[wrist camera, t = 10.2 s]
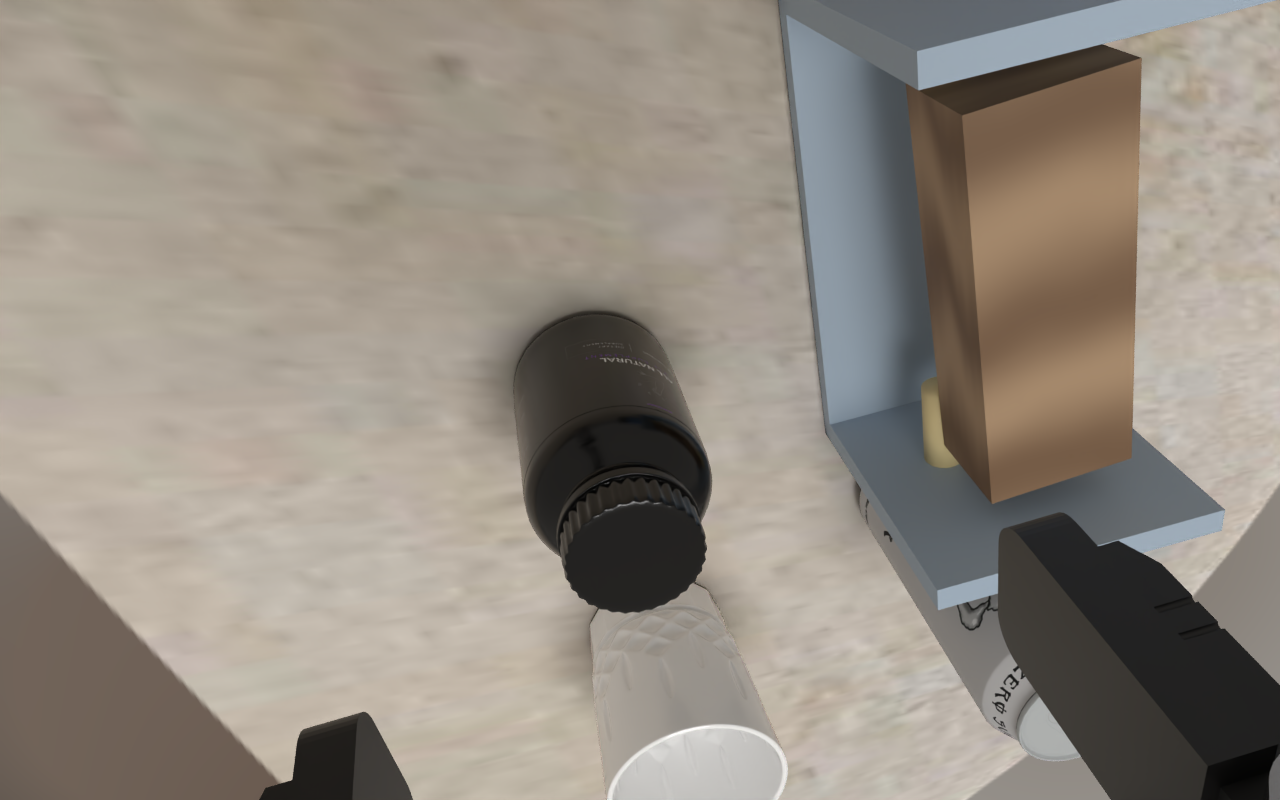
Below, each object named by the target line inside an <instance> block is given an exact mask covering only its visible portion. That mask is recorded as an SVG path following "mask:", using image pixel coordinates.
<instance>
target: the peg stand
mask: <svg viewBox="0 0 1280 800" xmlns="http://www.w3.org/2000/svg"><path fill="white" fill-rule="evenodd" d="M1271 1H1275V0H778V2H779V11H780V20H781V29H782V38H783V47H784V57H785V66H786V75H787V84H788V93H789V102H790V111H791V121H792V130H793V139H794V148H795V157H796V166H797V175H798V184H799V194H800V203H801V212H802V221H803V230H804V239H805V248H806V258H807V267H808V276H809V285H810V294H811V303H812V312H813V322H814V331H815V340H816V349H817V358H818V367H819V376H820V385H821V395H822V404H823V413H824V422H825V431H826V434H827V436H828V437H829V439H830V441H831V442H832V444H833V445H834V447H835V449H836V450H837V452H838V453H839V455H840V456H841V458H842V460H843V461H844V463H845V464H846V466H847V467H848V469H849V471H850V472H851V474H852V475H853V477H854V478H855V480H856V482H857V483H858V485H859V486H860V488H861V490H862V491H863V493H864V494H865V496H866V497H867V499H868V501H869V502H870V504H871V505H872V507H873V508H874V510H875V512H876V513H877V515H878V516H879V518H880V520H881V521H882V523H883V524H884V526H885V527H886V529H887V531H888V532H889V534H890V535H891V537H892V538H893V540H894V542H895V543H896V545H897V546H898V548H899V549H900V551H901V553H902V554H903V556H904V557H905V559H906V561H907V562H908V564H909V565H910V567H911V568H912V570H913V572H914V573H915V575H916V576H917V578H918V579H919V581H920V583H921V584H922V586H923V587H924V589H925V590H926V592H927V594H928V595H929V597H930V598H931V600H932V602H933V603H934V605H935V606H936V608H937V609H938V610H941V609H944V608H948V607H952V606H955V605H959V604H962V603H966V602H969V601H973V600H976V599H980V598H984V597H987V596H991V595H994V594H998V543H999V535H1000V532H1001V530H1002V529H1003V528H1006V527H1010V526H1013V525H1017V524H1020V523H1024V522H1027V521H1030V520H1034V519H1037V518H1041V517H1044V516H1048V515H1051V514H1055V513H1058V512H1062V513H1065V514H1067V515H1069V516H1070V517H1071V518H1072V519H1073V520H1074V521H1075V522H1076V523H1077V524H1078V525H1079V526H1080V527H1081V528H1082V529H1083V530H1084V531H1085V532H1086V534H1087V535H1088V536H1089V537H1090V538H1091V539H1092V540H1093V541H1094V542H1095V543H1096V545H1097V546H1101V545H1104V544H1108V543H1111V542H1115V541H1120V542H1122V543H1124V544H1126V545H1128V546H1129V547H1131V548H1133V549H1135V550H1137V551H1139V552H1141V553H1143V552H1147V551H1151V550H1154V549H1158V548H1161V547H1165V546H1168V545H1172V544H1175V543H1179V542H1183V541H1186V540H1190V539H1193V538H1197V537H1200V536H1204V535H1207V534H1211V533H1215V532H1218V531H1222V525H1223V519H1224V513H1225V509H1224V508H1222V507H1221V506H1220V505H1219V504H1218V503H1217V502H1216V501H1214V500H1213V499H1212V498H1211V497H1210V496H1209V495H1208V494H1207V493H1205V492H1204V491H1203V490H1202V489H1201V488H1200V487H1199V486H1197V485H1196V484H1195V483H1194V482H1193V481H1192V480H1191V479H1189V478H1188V477H1187V476H1186V475H1185V474H1184V473H1183V472H1182V471H1180V470H1179V469H1178V468H1177V467H1176V466H1175V465H1174V464H1172V463H1171V462H1170V461H1169V460H1168V459H1167V458H1166V457H1164V456H1163V455H1162V454H1161V453H1160V452H1159V451H1158V450H1157V449H1155V448H1154V447H1153V446H1152V445H1151V444H1150V443H1149V442H1147V441H1146V440H1145V439H1144V438H1143V437H1142V436H1141V435H1139V434H1138V433H1137V432H1136V431H1135V430H1134V429H1133V428H1132V458H1131V459H1128V460H1125V461H1122V462H1119V463H1116V464H1113V465H1110V466H1107V467H1103V468H1100V469H1097V470H1094V471H1091V472H1088V473H1085V474H1082V475H1079V476H1076V477H1073V478H1070V479H1067V480H1064V481H1061V482H1058V483H1055V484H1052V485H1049V486H1046V487H1042V488H1039V489H1036V490H1033V491H1030V492H1027V493H1024V494H1021V495H1018V496H1015V497H1012V498H1009V499H1006V500H1003V501H1000V502H997V503H994V504H991V502H990V501H989V500H988V499H987V497H986V496H985V495H984V494H983V492H982V491H981V490H980V489H979V487H978V486H977V485H976V484H975V483H974V481H973V480H972V479H971V478H970V476H969V475H968V474H967V473H966V471H965V470H964V469H963V468H962V466H961V465H960V464H959V463H958V462H957V460H956V459H955V458H954V457H953V455H952V454H951V453H950V452H949V450H948V449H947V448H946V447H945V445H944V438H943V428H942V419H941V410H940V400H939V391H938V382H937V372H936V363H935V354H934V344H933V335H932V326H931V316H930V307H929V298H928V288H927V279H926V270H925V260H924V251H923V242H922V232H921V223H920V214H919V204H918V195H917V186H916V177H915V167H914V158H913V149H912V139H911V130H910V121H909V111H908V102H907V93H906V84H908V85H910V86H912V87H913V88H915V89H917V90H922V89H926V88H930V87H934V86H938V85H942V84H946V83H950V82H954V81H958V80H962V79H966V78H970V77H974V76H978V75H982V74H986V73H990V72H994V71H998V70H1002V69H1006V68H1009V67H1013V66H1017V65H1021V64H1025V63H1029V62H1033V61H1037V60H1041V59H1045V58H1049V57H1053V56H1057V55H1061V54H1065V53H1069V52H1073V51H1077V50H1081V49H1085V48H1089V47H1093V46H1097V45H1101V44H1105V43H1109V42H1113V41H1117V40H1120V39H1124V38H1128V37H1132V36H1136V35H1140V34H1144V33H1148V32H1152V31H1156V30H1160V29H1164V28H1168V27H1172V26H1176V25H1180V24H1184V23H1188V22H1192V21H1196V20H1200V19H1204V18H1208V17H1212V16H1216V15H1220V14H1224V13H1228V12H1231V11H1235V10H1239V9H1243V8H1247V7H1251V6H1255V5H1259V4H1263V3H1267V2H1271Z"/></svg>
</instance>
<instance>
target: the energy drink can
mask: <svg viewBox="0 0 1280 800" xmlns="http://www.w3.org/2000/svg"><path fill="white" fill-rule="evenodd" d="M860 510H861V514H862V517H863V518H864V520H865V522H866V524H867V525H868V527H869V529H870V530H871V532H872V534H873V535H874V537H875V539H876V540H877V542H878V543H879V545H880V547H881V548H882V550H883V552H884V553H885V555H886V557H887V558H888V560H889V561H890V563H891V565H892V566H893V568H894V570H895V571H896V573H897V575H898V576H899V578H900V580H901V581H902V583H903V584H904V586H905V588H906V589H907V591H908V593H909V594H910V596H911V598H912V599H913V601H914V602H915V604H916V606H917V607H918V609H919V611H920V612H921V614H922V616H923V617H924V619H925V621H926V622H927V624H928V625H929V627H930V629H931V630H932V632H933V634H934V635H935V637H936V639H937V640H938V642H939V644H940V645H941V647H942V648H943V650H944V652H945V653H946V655H947V657H948V658H949V660H950V662H951V663H952V665H953V666H954V668H955V670H956V671H957V673H958V675H959V676H960V678H961V680H962V681H963V683H964V685H965V686H966V688H967V689H968V691H969V693H970V694H971V696H972V698H973V699H974V701H975V703H976V704H977V706H978V707H979V709H980V711H981V712H982V714H983V716H984V717H985V719H986V721H987V722H988V723H989V724H990V725H991V726H993V727H994V728H995V729H997V730H998V731H1000V732H1002V733H1004V734H1006V735H1008V736H1010V737H1012V738H1014V739H1016V740H1018V741H1019V742H1020V744H1021V746H1022V748H1023V749H1024V750H1025V751H1026V752H1027V753H1028V754H1029V755H1032V756H1033V757H1035V758H1038V759H1041V760H1045V761H1064V760H1071V759H1075V758H1079V757H1081V756H1080V754H1079V753H1078V752H1077V750H1076V749H1075V747H1074V746H1073V744H1072V743H1071V741H1070V740H1069V739H1068V737H1067V736H1066V734H1065V733H1064V731H1063V730H1062V729H1061V727H1060V726H1059V724H1058V723H1057V721H1056V720H1055V718H1054V717H1053V716H1052V714H1051V713H1050V711H1049V710H1048V708H1047V707H1046V705H1045V704H1044V703H1043V701H1042V700H1041V698H1040V697H1039V695H1038V694H1037V693H1036V691H1035V690H1034V688H1033V687H1032V685H1031V684H1030V682H1029V681H1028V680H1027V678H1026V677H1025V675H1024V674H1023V672H1022V671H1021V670H1020V668H1019V667H1018V665H1017V664H1016V662H1015V661H1014V659H1013V657H1012V655H1011V654H1010V652H1009V650H1008V648H1007V645H1006V643H1005V640H1004V638H1003V635H1002V632H1001V628H1000V624H999V619H998V594H994V595H991V596H987V597H984V598H980V599H976V600H973V601H969V602H966V603H962V604H959V605H955V606H952V607H948V608H944V609H941V610H938V609H937V608H936V606H935V605H934V603H933V602H932V600H931V598H930V597H929V595H928V594H927V592H926V590H925V589H924V587H923V586H922V584H921V583H920V581H919V579H918V578H917V576H916V575H915V573H914V572H913V570H912V568H911V567H910V565H909V564H908V562H907V561H906V559H905V557H904V556H903V554H902V553H901V551H900V549H899V548H898V546H897V545H896V543H895V542H894V540H893V538H892V537H891V535H890V534H889V532H888V531H887V529H886V527H885V526H884V524H883V523H882V521H881V520H880V518H879V516H878V515H877V513H876V512H875V510H874V508H873V507H872V505H871V504H870V502H869V501H868V499H867V497H866V496H865V494H864V493H863V491H862V490H861V493H860Z"/></svg>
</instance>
